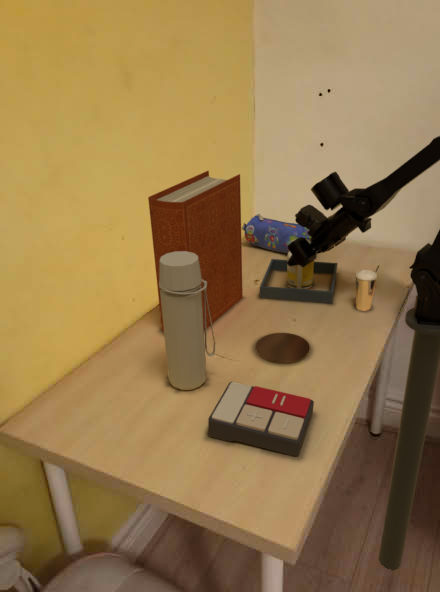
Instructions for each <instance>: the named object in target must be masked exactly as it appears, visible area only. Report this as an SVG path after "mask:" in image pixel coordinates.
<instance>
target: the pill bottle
mask: <svg viewBox="0 0 440 592" xmlns="http://www.w3.org/2000/svg"><path fill="white" fill-rule="evenodd" d="M295 240H296V239H295ZM306 240H307V239H306ZM293 241H294V240H293ZM307 241H308V242H309V244H311V242H310V241H309V240H307ZM291 255H292V254H291V252H290V251H289V252H288V253H287V258H286V260H287V262H288V260H289V259H290V257H291ZM314 262H315V260H314V261H312V262H311V263H310V264H308V265H307V266H305V267H301V266H300V265H295V266H289V265H288V264H287V271H286V284H287V286H288V288H295V289H308V290H309V289H310V288H312V286H313V284H314V273H313V270H314Z"/></svg>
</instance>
